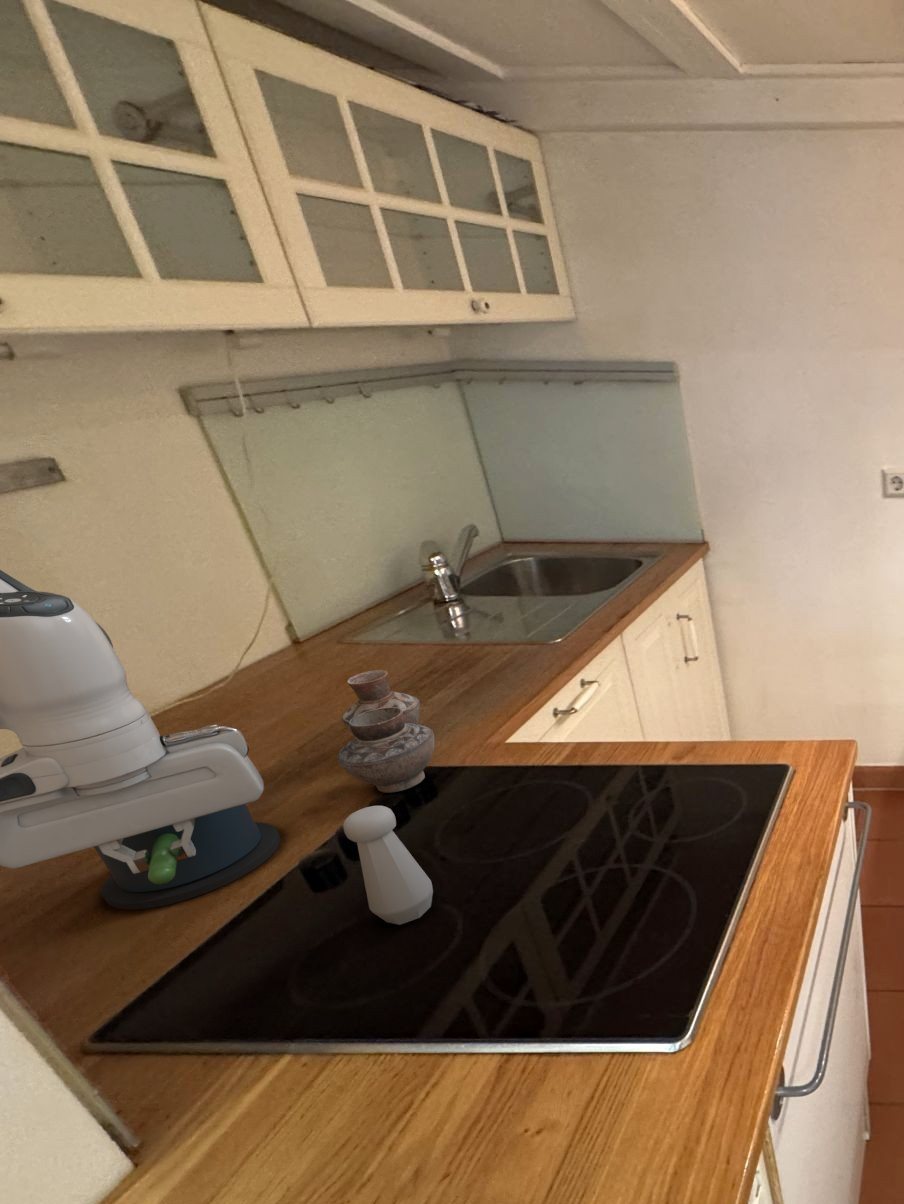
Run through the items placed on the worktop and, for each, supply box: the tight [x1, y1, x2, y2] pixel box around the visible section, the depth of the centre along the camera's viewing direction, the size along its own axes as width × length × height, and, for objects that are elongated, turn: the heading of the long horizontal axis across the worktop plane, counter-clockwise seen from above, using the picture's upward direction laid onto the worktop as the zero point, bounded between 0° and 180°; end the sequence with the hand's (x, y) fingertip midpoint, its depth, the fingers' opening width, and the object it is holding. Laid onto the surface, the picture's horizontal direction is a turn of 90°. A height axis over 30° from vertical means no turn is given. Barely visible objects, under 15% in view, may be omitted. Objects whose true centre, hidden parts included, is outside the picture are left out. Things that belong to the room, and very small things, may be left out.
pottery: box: [336, 669, 436, 794], centre depth 112 cm, size 11×25×12 cm, turn 38°
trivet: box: [100, 821, 281, 911], centre depth 93 cm, size 16×16×1 cm
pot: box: [93, 804, 261, 892], centre depth 88 cm, size 22×14×10 cm, turn 41°
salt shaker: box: [342, 805, 434, 926], centre depth 82 cm, size 6×6×13 cm
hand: (166, 862), depth 83 cm, fingers closed on pot, 2 cm apart
